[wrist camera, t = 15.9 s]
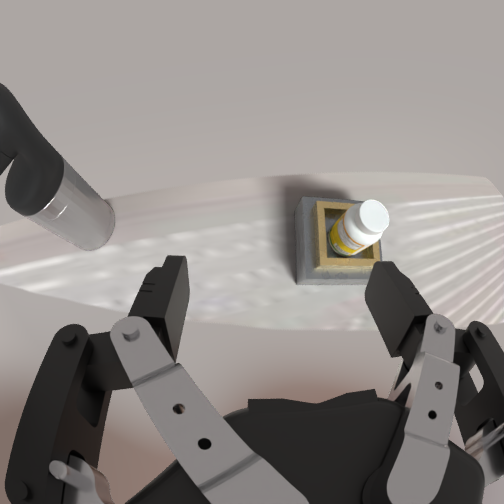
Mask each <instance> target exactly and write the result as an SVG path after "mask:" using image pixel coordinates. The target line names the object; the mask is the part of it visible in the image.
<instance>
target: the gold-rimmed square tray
mask: <svg viewBox="0 0 504 504" xmlns="http://www.w3.org/2000/svg"><path fill="white" fill-rule="evenodd" d="M363 202H364V201H354V200H343V199H332V198H319V197H304V196H302V198H301V200H300V202H299V204H298V206H297V208H296V210H295V236H296V285H367V284H368V281H369V278H370V275H371V271H372V268H373V265H374V263H375V262H376V261H382V252H381V242H380V239H379V240H378V241H377V242H375V243H374V244H372V245H370V246H369V247H367V248H365V249H364V250H362V251H360V252H359V253H357V254H355V255H353V256H349V257H345V256H341V255H339V254H337V253H336V252H335V251H334V250H333V249H332V247H331V245H330V243H329V238H328V235H329V231H330V229H331V227H332V226H333V225H334V223H335V222H336V221H337V220H338V219H339V218H340V217H341V216H342V215H343V214H344V213H345V212H346V211H347V210H348V209H349V208H350V207H351V206H353V205H355V204H358V203H363Z"/></svg>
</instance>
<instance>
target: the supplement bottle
mask: <svg viewBox="0 0 504 504" xmlns="http://www.w3.org/2000/svg"><path fill="white" fill-rule="evenodd" d="M388 224H389V214H388V212H387V209H386V208H385V207H384V205H383V204H382V203H380V202H379V201H377V200H373V199H369V200H366V201H364V202H363V203H358V204H355V205H353V206H351V207H350V208H349V209H348V210H347V211H346V212H345V213H344V214H343V215H342V216H341V217H340V218H339V219H338V220H337V221H336V222H335V223H334V225H333V226H332V227H331V229H330V231H329V235H328V238H329V243H330V245H331V247H332V249H333V250H334V251H335V252H336V253H337V254H339V255H341V256H345V257H349V256H353V255H355V254H357V253H359V252H360V251H362V250H364V249H365V248H367V247H369V246H370V245H372V244H374V243H375V242H377V241H378V240H379V239H380V237H381V236H382V233H383V231H384V230H385V229H386V228H387V226H388Z"/></svg>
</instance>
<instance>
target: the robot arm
mask: <svg viewBox="0 0 504 504" xmlns="http://www.w3.org/2000/svg"><path fill="white" fill-rule="evenodd" d="M13 159H14V161H13V163H12V166H11V168H10V170H9V173H8V176H7V180H6V185H5V196H6V200H7V202H8V204H9V205H10V207H11V208H12V209H14V210H15V211H17V212H18V213H20V214H21V215H23V216H25V217H26V218H28V219H30V220H31V221H33V222H35V223H37V224H38V225H40V226H42V227H44V228H45V229H47V230H49V231H51V232H52V233H54V234H56V235H58V236H59V237H61V238H63V239H65V240H67V241H68V242H70V243H72V244H74V245H76V246H77V247H79V248H81V249H84V250H89V251H91V250H95V249H98V248H100V247H101V246H102V245H104V244H105V243H106V242H107V241H108V239H109V238H110V236H111V234H112V232H113V229H114V225H115V217H114V213H113V210H112V209H111V207H110V206H109V205H108V204H107V203H106V202H105V201H104V200H103V199H102V198H101V197H100V196H99V195H98V194H97V193H96V192H95V191H94V190H93V189H92V188H91V187H90V186H89V185H88V184H87V182H86V181H84V179H83V178H81V176H80V175H79V174H78V173H77V172H76V171H75V170H74V169H73V168H72V167H71V166H70V165H69V164H68V163H67V162H66V160H65V159H64V158H63V157H62V156H61V155H60V154H59V153H58V152H57V151H56V150H55V149H54V148H53V147H52V146H51V144H50V143H49V142H48V141H47V140H46V139H45V138H44V137H43V136H42V134H41V133H40V132H39V131H38V129H37V128H36V127H35V125H34V124H33V123H32V122H31V120H30V119H29V117H28V116H27V114H26V113H25V111H24V110H23V108H22V107H21V105H20V104H19V103H18V101H17V100H16V98H15V97H14V96H13V94H12V93H11V92H10V91H9V90H8V89H7V88H6V87H5V86H4V85H3V84H1V83H0V175H1V174H2V173H3V171H4V170H5V169H6V168H7V166H8V165H9V164H10V163H11V161H12V160H13ZM189 294H190V288H189V278H188V268H187V259H186V256H172V255H168V256H167V257H166V259H165V262H164V264H163V266H162V267H154V268H153V269H152V270H151V271H150V272H149V273H148V274H146V277H145V279H144V281H143V285H141V287H140V290H139V292H138V294H137V296H136V298H135V301H134V303H133V305H132V308H131V310H130V312H129V315H128V317H126V318H123V319H121V320H119V321H118V322H116V323H115V325H113V327H112V329H111V331H109V332H104V333H98V334H90V335H89V334H88V333H87V330H86V329H85V328H84V327H83V326H81V325H77V324H70V325H67V326H65V327H63V328H61V329H60V330H59V331H58V332H57V333H56V334H55V336H54V338H53V340H52V342H51V344H50V346H49V348H48V351H47V353H46V355H45V357H44V359H43V362H42V364H41V366H40V368H39V371H38V373H37V376H36V378H35V381H34V383H33V386H32V388H31V391H30V394H29V396H28V399H27V402H26V405H25V407H24V410H23V413H22V416H21V419H20V423H19V426H18V429H17V432H16V436H15V440H14V443H13V447H12V451H11V455H10V459H9V464H8V469H7V473H6V479H5V491H6V494H7V497H8V499H9V501H10V502H11V504H115V503H114V502H113V500H112V498H111V495H110V486H109V482H108V480H107V478H106V477H105V476H104V474H103V473H101V472H100V471H99V470H97V467H98V460H99V453H100V448H101V442H102V436H103V431H104V426H105V421H106V416H107V411H108V406H109V403H110V398H111V394H112V390H120V389H127V388H134V389H135V391H136V393H137V395H138V397H139V399H140V401H141V402H142V404H143V406H144V408H145V410H146V411H147V413H148V415H149V416H150V418H151V420H152V422H153V423H154V425H155V427H156V428H157V430H158V431H159V433H160V435H161V436H162V438H163V439H164V441H165V442H166V444H167V445H168V447H169V448H170V450H171V451H172V453H173V454H174V456H175V457H176V460H175V461H174V462H173V463H172V464H171V465H169V467H167V468H166V469H165V470H164V471H163V472H162V473H161V474H159V475H158V476H157V477H156V478H155V479H154V480H153V481H151V482H150V483H149V484H148V485H147V486H145V487H144V488H143V489H142V490H141V491H139V492H138V493H137V494H136V495H135V496H134V497H132V498H131V499H130V500H128V501H127V502H126V503H125V504H482V499H483V493H484V488H485V487H486V486H487V485H489V484H491V483H493V482H495V481H497V480H499V479H500V478H502V477H504V352H503V351H502V349H501V347H500V346H499V344H498V342H497V341H496V339H495V337H494V336H493V334H492V332H491V331H490V330H489V328H488V327H487V326H486V325H485V324H483V323H481V322H479V321H472V322H471V323H470V324H469V326H468V327H467V329H466V330H462V329H456V328H455V327H454V325H453V323H452V322H451V321H450V320H449V319H448V318H446V317H445V316H443V315H440V314H433V312H432V311H431V309H430V308H429V306H428V305H427V303H426V302H425V300H424V299H423V297H422V296H421V294H419V291H418V290H417V289H416V288H415V286H414V284H413V283H412V282H411V280H410V279H409V278H408V277H406V276H405V275H404V274H403V273H401V272H400V271H399V270H398V268H397V267H396V265H395V264H394V263H393V262H392V261H376V262H375V263H374V265H373V268H372V271H371V275H370V278H369V281H368V284H367V287H366V290H365V301H366V304H367V306H368V308H369V310H370V312H371V314H372V316H373V318H374V320H375V323H376V325H377V327H378V329H379V331H380V333H381V335H382V338H383V340H384V342H385V344H386V347H387V349H388V351H389V354H390V355H391V357H392V358H393V357H399V356H402V358H403V360H402V361H401V363H400V365H399V368H398V371H397V374H396V377H395V380H394V382H393V385H392V388H391V391H390V394H389V396H388V398H387V399H384V398H378V397H377V395H376V391H375V389H371V390H365V391H358V392H352V393H346V394H343V395H341V396H338V397H335V398H333V399H330V400H327V401H324V402H321V403H317V404H314V403H306V402H300V401H294V400H288V399H248V408H244V409H240V410H237V411H234V412H232V413H229V414H227V415H225V416H224V417H222V416H221V415H220V414H219V413H218V411H217V410H216V409H215V408H214V407H213V405H212V404H211V403H210V402H209V400H208V399H207V398H206V397H205V395H204V394H203V393H202V391H201V390H200V389H199V388H198V386H197V385H196V384H195V382H194V381H193V380H192V378H191V377H190V376H189V374H188V373H187V371H186V370H185V369H184V367H183V366H182V365H181V364H180V363H177V364H176V358H177V354H178V349H179V344H180V339H181V334H182V330H183V325H184V320H185V316H186V311H187V307H188V302H189ZM475 364H476V365H477V367H478V369H479V370H480V373H481V375H482V377H483V380H484V385H483V388H482V389H481V391H480V392H479V393H478V391H477V389H476V387H475V385H474V382H473V380H472V378H471V376H470V374H469V371H470V370H471V369H472V368H473V366H474V365H475ZM454 414H455V417H456V420H457V423H458V426H459V429H460V432H461V435H462V438H463V442H464V445H465V451H464V450H463V449H461V448H460V447H458V446H457V445H455V444H454V443H453V442H451V441H450V440H449V434H450V430H451V425H452V420H453V415H454Z"/></svg>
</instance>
